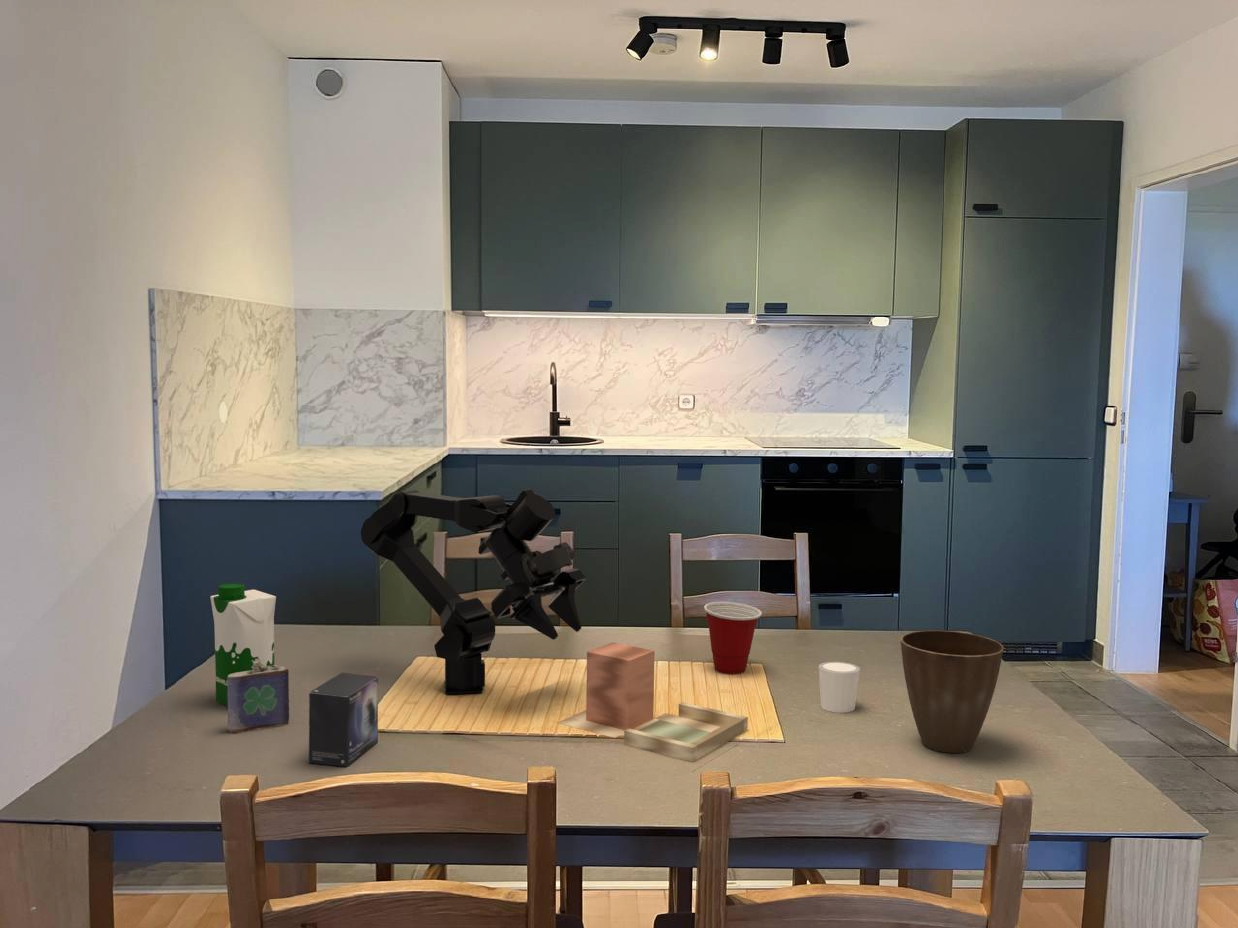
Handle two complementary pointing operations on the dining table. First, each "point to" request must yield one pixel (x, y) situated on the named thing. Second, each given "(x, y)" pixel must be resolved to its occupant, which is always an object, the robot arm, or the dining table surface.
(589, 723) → the shallow open box
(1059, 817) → the dining table surface
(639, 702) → the block
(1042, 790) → the dining table surface
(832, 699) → the white tapered cylinder
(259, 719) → the flask
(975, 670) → the plant pot
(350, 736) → the small box
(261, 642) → the milk carton
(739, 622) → the plastic cup
